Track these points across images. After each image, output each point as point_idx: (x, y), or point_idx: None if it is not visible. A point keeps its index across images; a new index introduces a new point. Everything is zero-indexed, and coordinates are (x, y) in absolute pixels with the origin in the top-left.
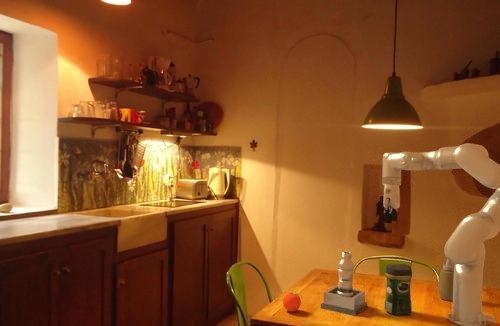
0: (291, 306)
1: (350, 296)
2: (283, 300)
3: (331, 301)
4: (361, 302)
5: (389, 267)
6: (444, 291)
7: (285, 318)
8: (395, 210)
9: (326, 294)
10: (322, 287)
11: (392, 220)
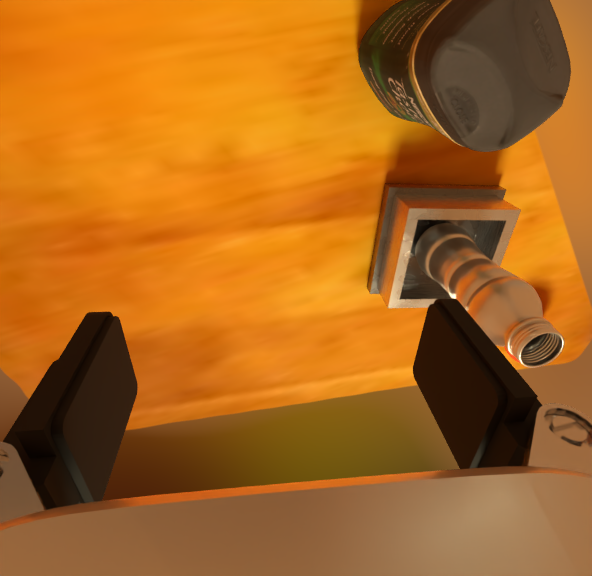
0: None
1: (467, 234)
2: None
3: None
4: (432, 198)
5: (542, 122)
6: None
7: (571, 315)
8: (25, 486)
9: None
10: (268, 353)
11: (129, 361)
